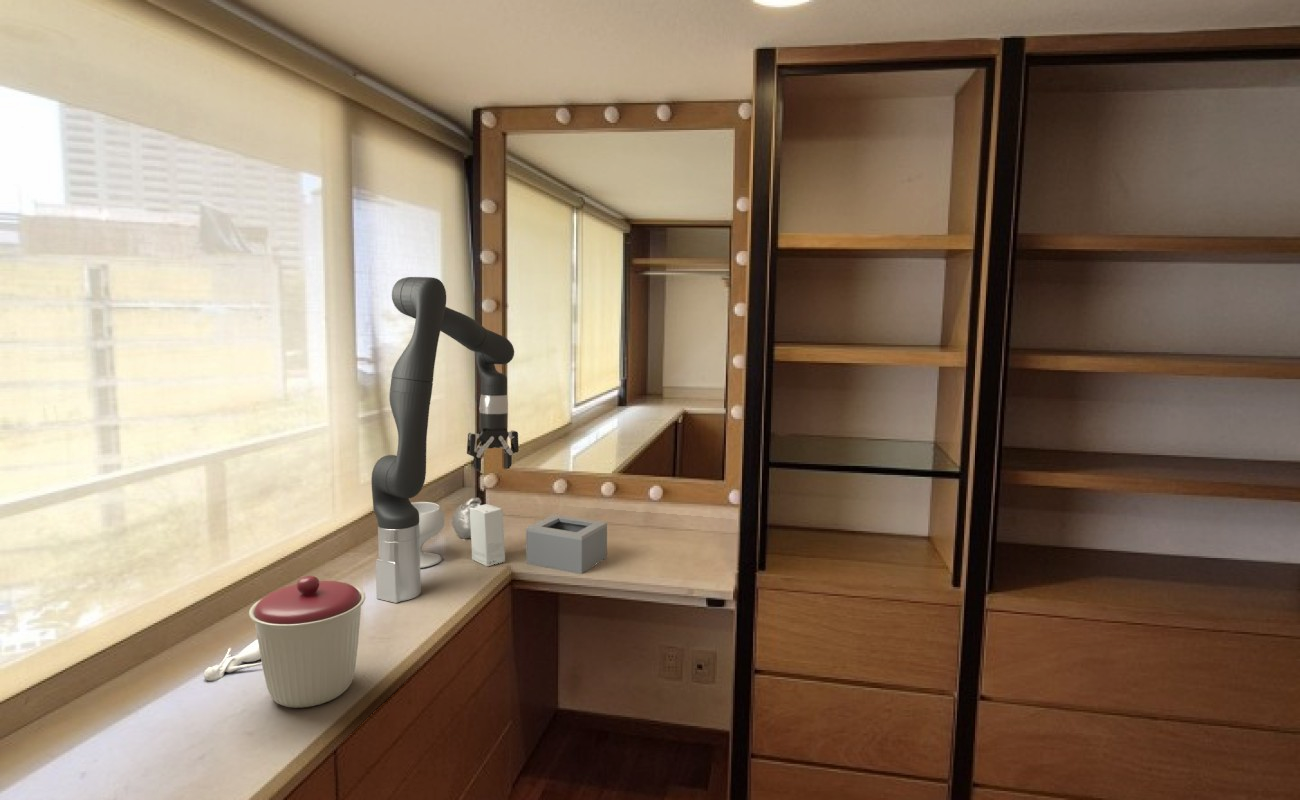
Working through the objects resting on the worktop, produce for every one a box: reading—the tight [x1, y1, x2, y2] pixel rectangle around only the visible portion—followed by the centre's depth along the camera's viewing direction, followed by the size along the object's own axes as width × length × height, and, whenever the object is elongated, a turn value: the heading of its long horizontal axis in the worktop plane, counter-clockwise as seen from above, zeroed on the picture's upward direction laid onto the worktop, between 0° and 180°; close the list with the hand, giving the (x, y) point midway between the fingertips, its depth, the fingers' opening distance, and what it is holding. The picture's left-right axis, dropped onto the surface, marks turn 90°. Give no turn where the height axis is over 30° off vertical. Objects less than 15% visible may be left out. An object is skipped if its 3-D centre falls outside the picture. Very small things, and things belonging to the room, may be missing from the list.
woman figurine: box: [203, 638, 262, 682], centre depth 135 cm, size 12×4×18 cm
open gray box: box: [525, 514, 608, 575], centre depth 192 cm, size 14×17×10 cm
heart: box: [451, 497, 483, 540], centre depth 212 cm, size 10×10×12 cm
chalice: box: [411, 501, 445, 569], centre depth 189 cm, size 14×14×15 cm
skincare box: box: [470, 503, 506, 567], centre depth 191 cm, size 8×6×15 cm
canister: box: [248, 575, 366, 709], centre depth 123 cm, size 18×18×21 cm
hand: (492, 469), depth 195 cm, fingers open, 8 cm apart
